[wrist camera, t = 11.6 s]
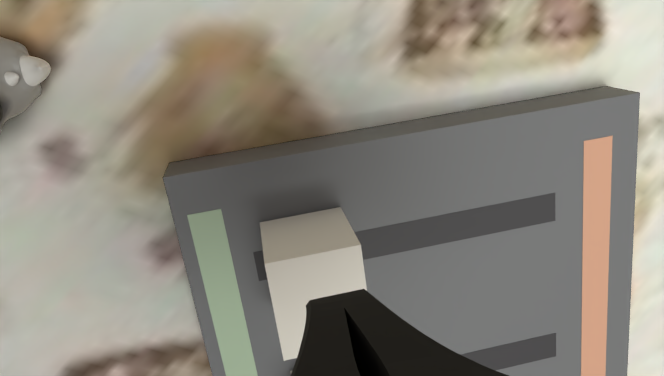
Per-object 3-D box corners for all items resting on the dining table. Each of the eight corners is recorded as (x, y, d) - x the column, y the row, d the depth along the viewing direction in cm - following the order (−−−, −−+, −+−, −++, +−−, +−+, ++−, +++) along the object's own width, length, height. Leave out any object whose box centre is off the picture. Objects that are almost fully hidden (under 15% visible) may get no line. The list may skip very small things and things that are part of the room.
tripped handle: (276, 306, 21) (283, 360, 18) (259, 222, 20) (264, 264, 16) (352, 290, 21) (373, 340, 18) (340, 207, 20) (360, 244, 17)
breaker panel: (263, 545, 27) (265, 585, 25) (169, 162, 21) (162, 177, 19) (597, 459, 29) (622, 490, 27) (606, 86, 23) (640, 92, 21)
